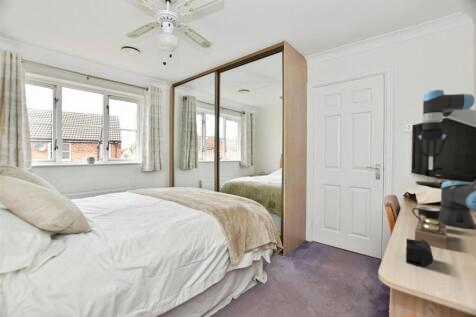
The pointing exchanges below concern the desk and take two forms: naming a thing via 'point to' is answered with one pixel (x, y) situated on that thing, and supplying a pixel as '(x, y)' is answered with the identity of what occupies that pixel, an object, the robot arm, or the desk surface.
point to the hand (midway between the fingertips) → (430, 169)
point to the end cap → (418, 253)
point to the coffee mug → (426, 213)
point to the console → (432, 235)
